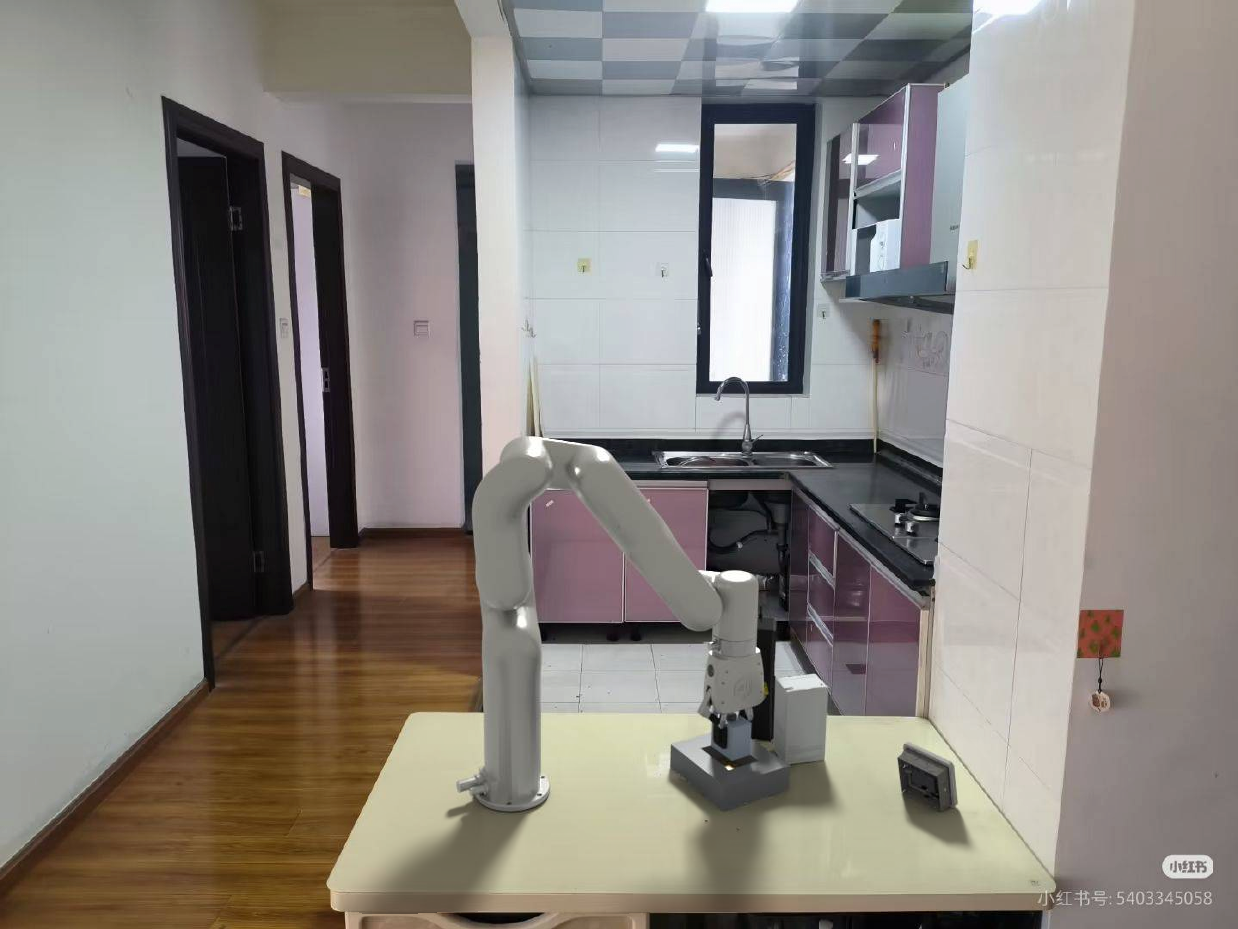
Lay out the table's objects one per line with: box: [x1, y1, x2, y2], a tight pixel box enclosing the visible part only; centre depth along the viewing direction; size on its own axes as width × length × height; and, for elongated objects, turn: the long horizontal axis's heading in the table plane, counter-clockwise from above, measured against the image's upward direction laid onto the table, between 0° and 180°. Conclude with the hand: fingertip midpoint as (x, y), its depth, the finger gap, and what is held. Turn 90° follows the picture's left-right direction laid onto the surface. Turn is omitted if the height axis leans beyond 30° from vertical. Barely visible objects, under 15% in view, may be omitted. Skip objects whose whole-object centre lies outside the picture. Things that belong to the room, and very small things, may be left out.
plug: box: [710, 712, 751, 761], centre depth 157 cm, size 4×6×7 cm, turn 31°
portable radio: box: [750, 604, 778, 742], centre depth 172 cm, size 8×6×25 cm
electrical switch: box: [896, 741, 959, 814], centre depth 152 cm, size 9×5×9 cm, turn 38°
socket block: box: [669, 732, 791, 812], centre depth 159 cm, size 14×16×4 cm
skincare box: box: [772, 673, 829, 765], centre depth 165 cm, size 8×6×15 cm
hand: (730, 741), depth 158 cm, fingers closed on plug, 4 cm apart
